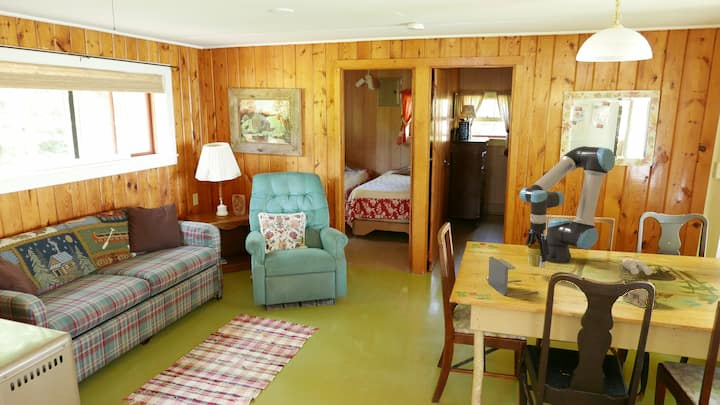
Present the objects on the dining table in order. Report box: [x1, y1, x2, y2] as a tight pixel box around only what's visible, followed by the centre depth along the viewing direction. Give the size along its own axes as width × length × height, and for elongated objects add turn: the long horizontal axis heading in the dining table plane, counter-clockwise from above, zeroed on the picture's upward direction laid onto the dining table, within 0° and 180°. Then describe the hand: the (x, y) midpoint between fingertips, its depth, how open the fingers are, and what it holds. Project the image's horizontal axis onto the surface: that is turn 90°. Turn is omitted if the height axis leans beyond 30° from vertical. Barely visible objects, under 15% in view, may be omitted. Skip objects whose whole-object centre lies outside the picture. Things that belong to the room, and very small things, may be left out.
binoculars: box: [622, 258, 654, 276], centre depth 262 cm, size 10×16×5 cm, turn 171°
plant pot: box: [525, 242, 541, 268], centre depth 251 cm, size 10×10×10 cm
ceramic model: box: [622, 289, 658, 310], centre depth 220 cm, size 14×11×10 cm
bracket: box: [487, 256, 540, 297], centre depth 238 cm, size 18×18×14 cm
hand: (536, 264), depth 252 cm, fingers closed on plant pot, 10 cm apart
